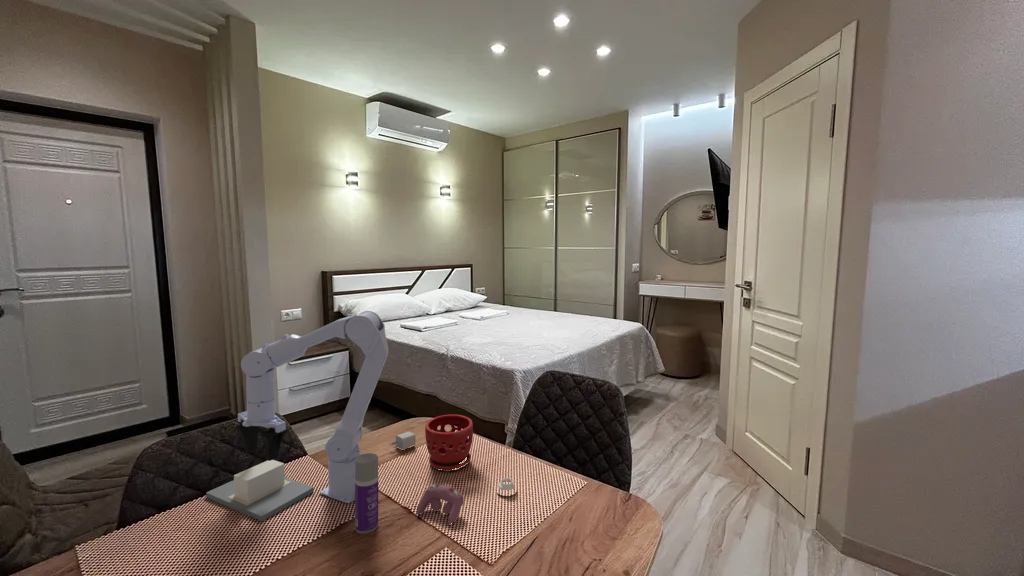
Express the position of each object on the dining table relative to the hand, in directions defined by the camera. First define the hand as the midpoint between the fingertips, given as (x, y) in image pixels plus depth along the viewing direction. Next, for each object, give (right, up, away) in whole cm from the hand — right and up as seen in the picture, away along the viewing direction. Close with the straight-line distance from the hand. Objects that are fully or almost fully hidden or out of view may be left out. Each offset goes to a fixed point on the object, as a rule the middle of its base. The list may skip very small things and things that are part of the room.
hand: (261, 455), depth 99 cm
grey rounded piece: (+58, -11, +4) cm, 59 cm away
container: (+29, -11, -11) cm, 33 cm away
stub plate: (0, -9, 0) cm, 9 cm away
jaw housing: (0, -8, 0) cm, 8 cm away
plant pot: (+42, -10, +17) cm, 46 cm away
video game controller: (+44, -11, -6) cm, 45 cm away
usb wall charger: (+27, -9, +26) cm, 38 cm away
